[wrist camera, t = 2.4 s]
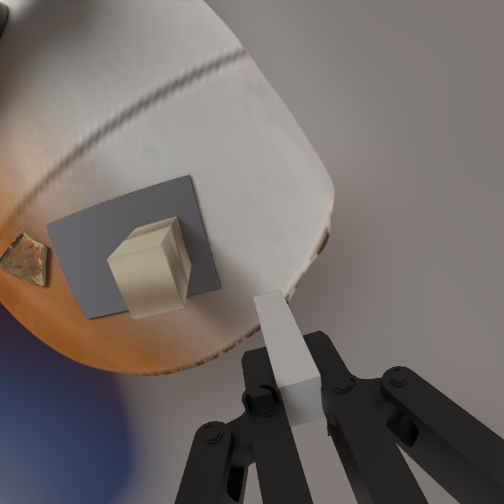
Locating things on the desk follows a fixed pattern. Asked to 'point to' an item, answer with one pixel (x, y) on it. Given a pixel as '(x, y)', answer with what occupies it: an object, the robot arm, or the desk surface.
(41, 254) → the shard
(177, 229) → the birch block
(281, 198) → the desk surface
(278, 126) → the desk surface
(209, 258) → the rubber mat
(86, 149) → the desk surface
